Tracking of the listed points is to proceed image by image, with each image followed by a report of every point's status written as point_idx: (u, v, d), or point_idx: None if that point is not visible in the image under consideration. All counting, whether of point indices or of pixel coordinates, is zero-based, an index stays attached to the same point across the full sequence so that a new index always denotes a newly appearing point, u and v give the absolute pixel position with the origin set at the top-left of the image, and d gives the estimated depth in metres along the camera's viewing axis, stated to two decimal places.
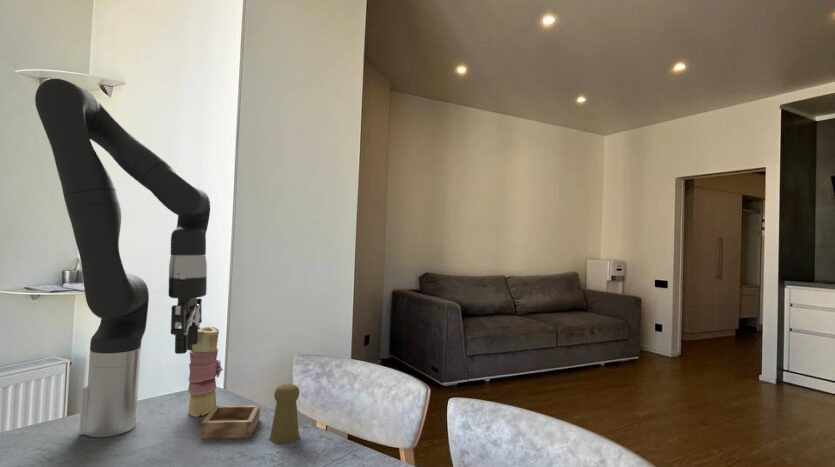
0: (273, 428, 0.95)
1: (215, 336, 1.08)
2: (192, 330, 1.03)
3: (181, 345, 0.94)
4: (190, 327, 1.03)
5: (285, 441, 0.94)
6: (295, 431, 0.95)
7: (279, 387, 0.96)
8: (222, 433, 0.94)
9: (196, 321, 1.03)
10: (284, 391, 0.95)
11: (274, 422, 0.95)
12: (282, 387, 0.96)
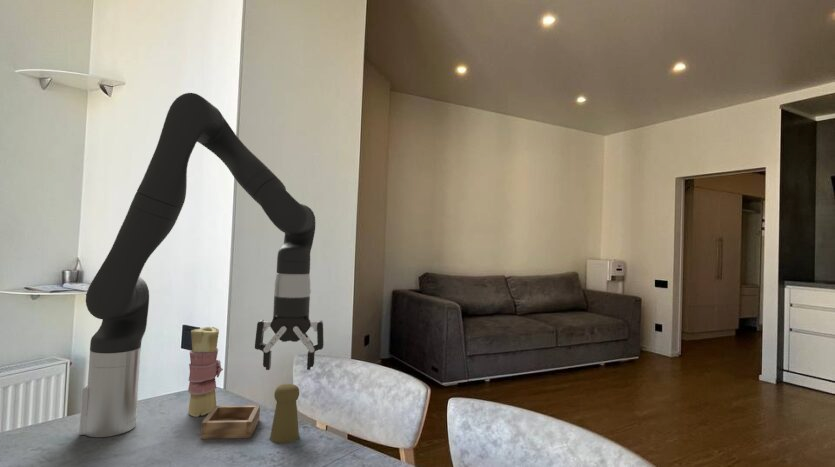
0: (273, 428, 0.95)
1: (215, 336, 1.08)
2: (270, 353, 0.97)
3: None
4: (269, 351, 0.96)
5: (285, 441, 0.94)
6: (295, 431, 0.95)
7: (279, 387, 0.96)
8: (222, 433, 0.94)
9: None
10: (284, 391, 0.95)
11: (274, 421, 0.95)
12: (282, 387, 0.96)
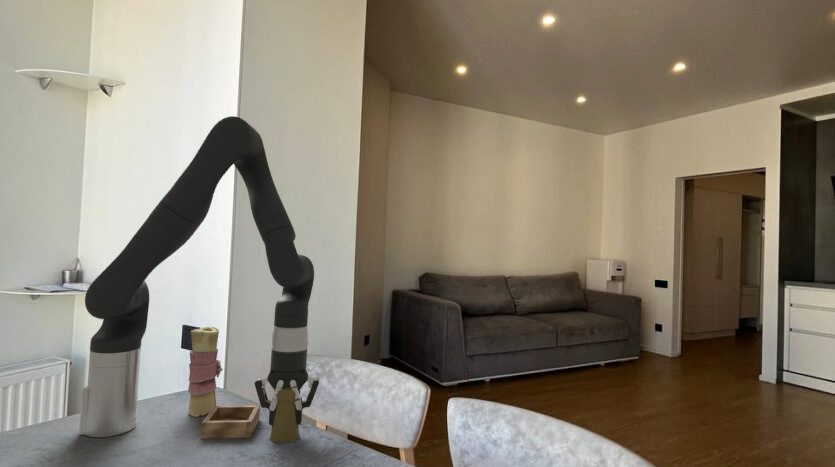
0: (273, 428, 0.95)
1: (215, 336, 1.08)
2: None
3: (301, 416, 0.98)
4: (275, 408, 0.96)
5: (285, 441, 0.94)
6: (295, 430, 0.95)
7: None
8: (222, 433, 0.94)
9: None
10: (284, 391, 0.95)
11: (274, 421, 0.95)
12: None
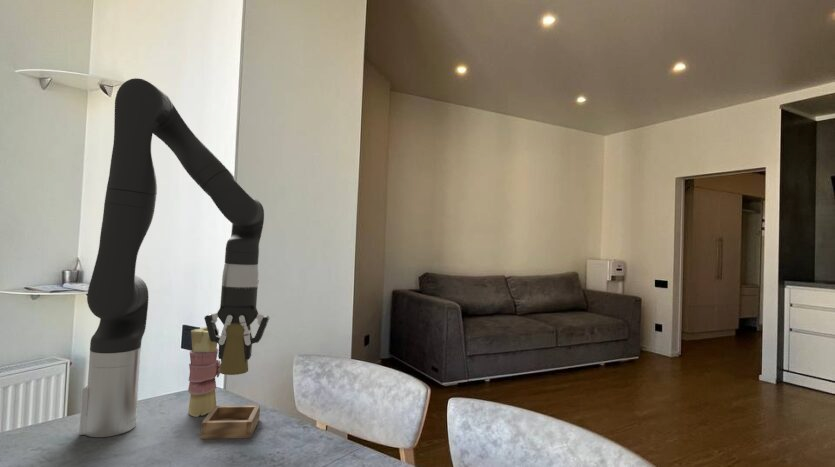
0: (222, 361, 0.98)
1: None
2: None
3: None
4: None
5: (233, 373, 0.97)
6: (243, 364, 0.99)
7: None
8: (222, 433, 0.94)
9: None
10: (232, 326, 0.98)
11: (223, 355, 0.98)
12: None
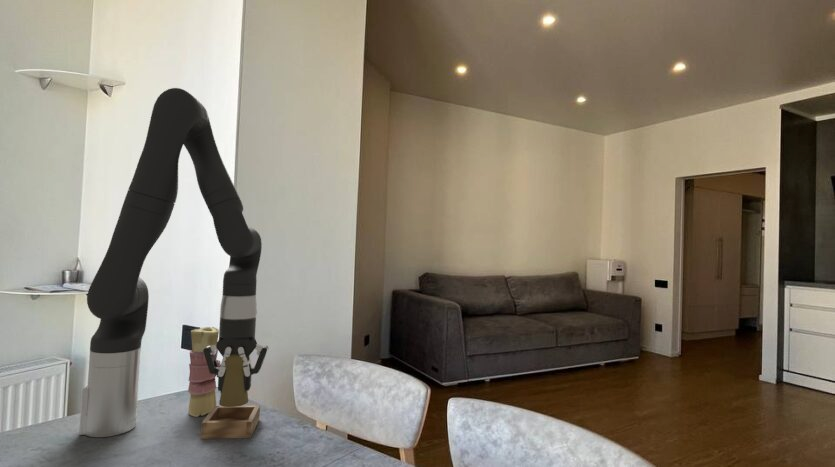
0: (222, 393, 0.98)
1: (215, 336, 1.08)
2: None
3: (250, 383, 1.01)
4: None
5: (233, 405, 0.97)
6: (243, 396, 0.99)
7: None
8: (222, 433, 0.94)
9: None
10: (231, 358, 0.98)
11: None
12: None
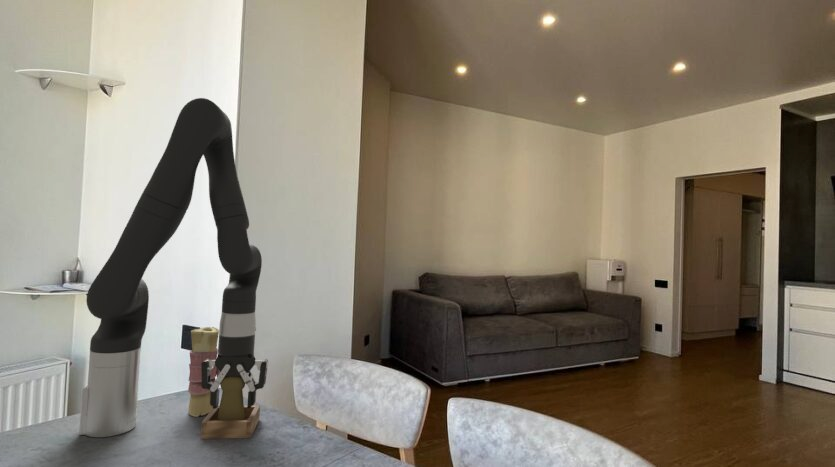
0: (218, 416, 0.98)
1: (215, 336, 1.08)
2: (218, 392, 0.99)
3: (255, 398, 1.01)
4: (216, 390, 0.99)
5: None
6: (240, 419, 0.98)
7: None
8: (222, 433, 0.94)
9: None
10: (228, 380, 0.98)
11: (219, 410, 0.98)
12: None
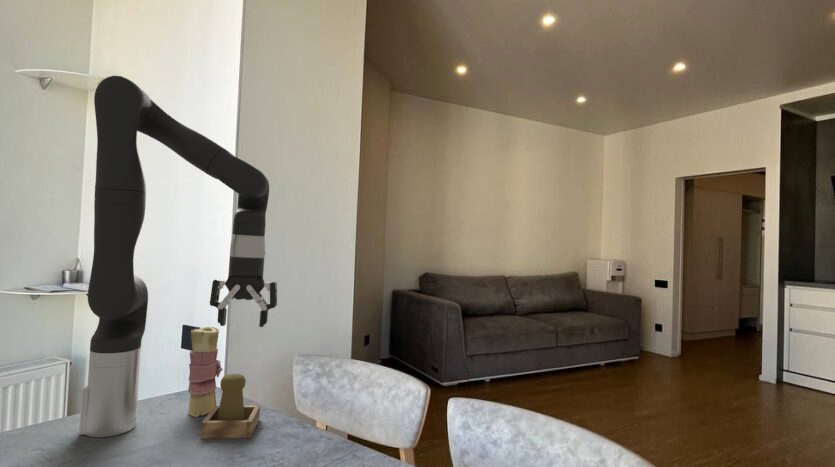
0: (218, 416, 0.98)
1: (215, 336, 1.08)
2: (225, 311, 1.02)
3: None
4: (224, 308, 1.02)
5: None
6: (240, 419, 0.98)
7: (225, 376, 0.99)
8: (222, 433, 0.94)
9: (230, 301, 1.03)
10: (228, 380, 0.98)
11: (219, 410, 0.98)
12: (228, 376, 0.99)
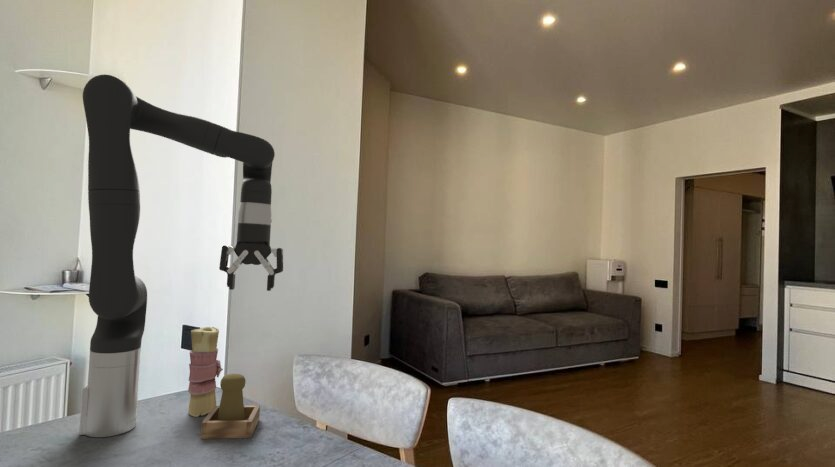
0: (218, 416, 0.98)
1: (215, 336, 1.08)
2: (234, 275, 1.07)
3: None
4: (233, 273, 1.07)
5: None
6: (240, 419, 0.98)
7: (225, 376, 0.99)
8: (222, 433, 0.94)
9: (238, 266, 1.08)
10: (228, 380, 0.98)
11: (219, 410, 0.98)
12: (228, 376, 0.99)
